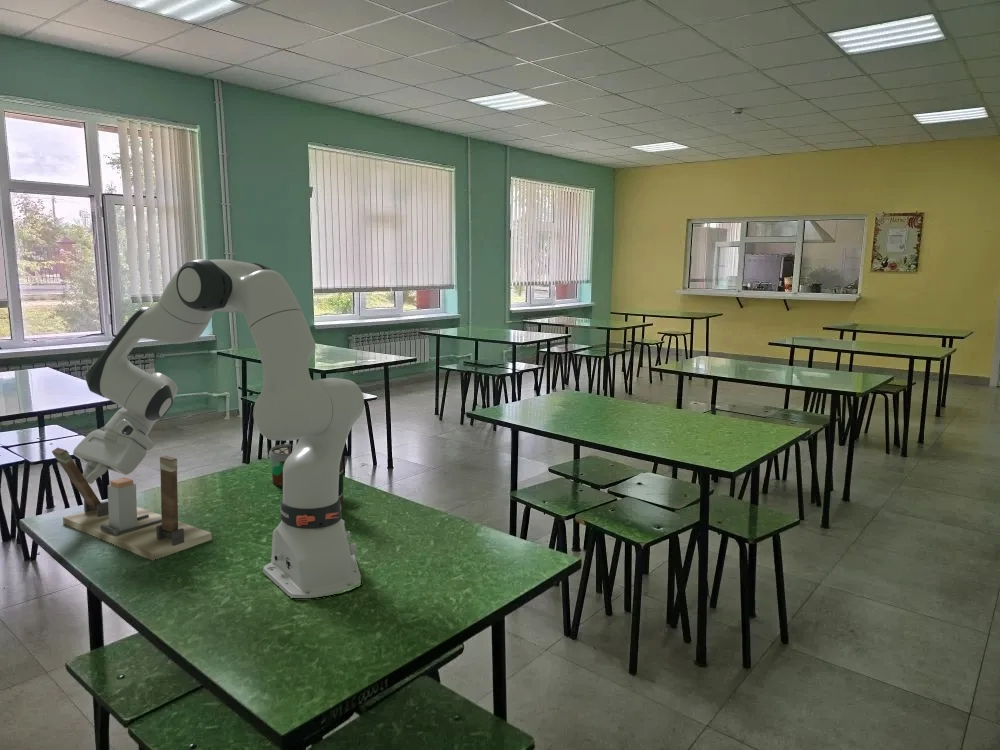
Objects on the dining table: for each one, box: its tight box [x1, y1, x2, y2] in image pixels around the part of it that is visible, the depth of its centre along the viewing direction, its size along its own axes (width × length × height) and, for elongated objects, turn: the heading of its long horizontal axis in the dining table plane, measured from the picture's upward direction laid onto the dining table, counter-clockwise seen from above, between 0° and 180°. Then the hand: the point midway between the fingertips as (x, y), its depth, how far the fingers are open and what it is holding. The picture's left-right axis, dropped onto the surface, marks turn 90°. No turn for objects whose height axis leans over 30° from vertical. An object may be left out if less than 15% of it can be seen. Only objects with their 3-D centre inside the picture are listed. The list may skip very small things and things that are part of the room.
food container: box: [267, 443, 292, 487], centre depth 191 cm, size 12×6×10 cm, turn 17°
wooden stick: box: [51, 447, 102, 511], centre depth 154 cm, size 2×4×18 cm, turn 59°
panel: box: [62, 499, 213, 562], centre depth 152 cm, size 34×14×5 cm, turn 60°
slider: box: [107, 477, 138, 532], centre depth 149 cm, size 4×4×11 cm
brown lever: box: [159, 455, 179, 539], centre depth 143 cm, size 2×4×18 cm, turn 60°
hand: (85, 481), depth 155 cm, fingers closed, pressing on wooden stick
